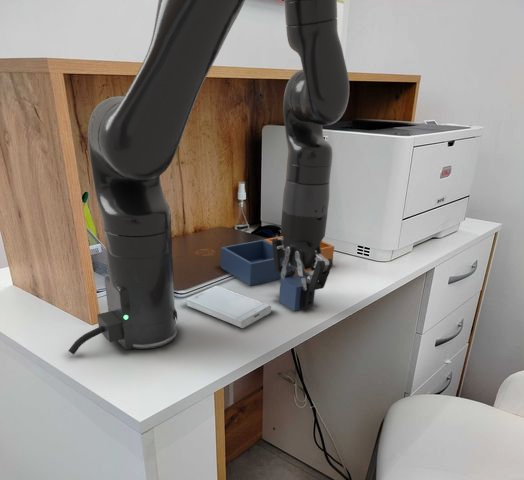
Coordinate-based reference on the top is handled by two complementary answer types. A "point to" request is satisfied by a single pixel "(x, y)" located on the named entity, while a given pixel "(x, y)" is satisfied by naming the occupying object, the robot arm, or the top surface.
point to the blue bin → (250, 262)
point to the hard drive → (229, 306)
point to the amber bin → (326, 248)
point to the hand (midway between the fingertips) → (296, 301)
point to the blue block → (291, 292)
